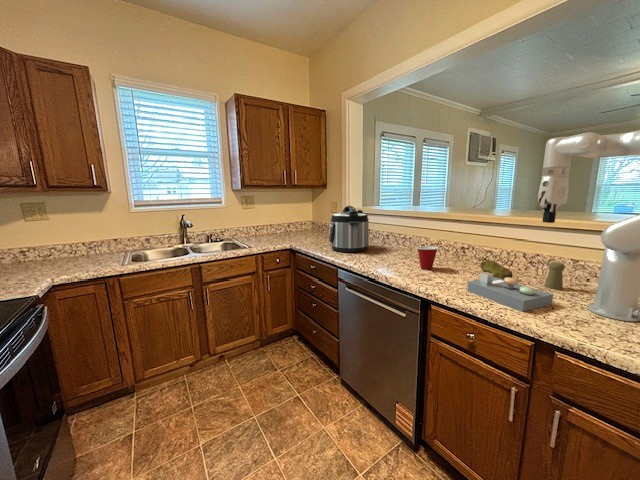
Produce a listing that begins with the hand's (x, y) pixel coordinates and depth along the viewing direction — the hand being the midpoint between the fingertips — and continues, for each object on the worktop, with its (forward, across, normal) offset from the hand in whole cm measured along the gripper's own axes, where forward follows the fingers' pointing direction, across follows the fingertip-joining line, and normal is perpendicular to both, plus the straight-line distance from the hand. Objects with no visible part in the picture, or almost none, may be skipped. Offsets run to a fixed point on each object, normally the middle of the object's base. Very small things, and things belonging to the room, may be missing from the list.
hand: (548, 222), depth 102 cm
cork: (+29, +15, +3) cm, 33 cm away
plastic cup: (+29, -14, +47) cm, 57 cm away
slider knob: (+25, -18, +9) cm, 32 cm away
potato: (+29, +5, +22) cm, 37 cm away
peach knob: (+26, -14, +2) cm, 30 cm away
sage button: (+28, -14, -4) cm, 31 cm away
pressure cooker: (+29, -30, +108) cm, 116 cm away
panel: (+29, -14, +3) cm, 32 cm away
